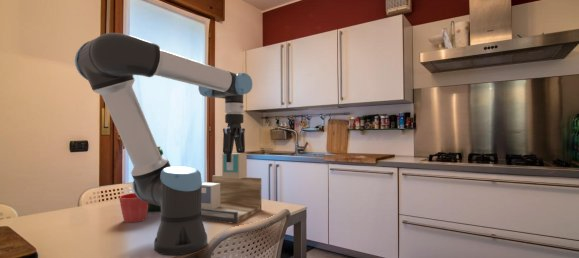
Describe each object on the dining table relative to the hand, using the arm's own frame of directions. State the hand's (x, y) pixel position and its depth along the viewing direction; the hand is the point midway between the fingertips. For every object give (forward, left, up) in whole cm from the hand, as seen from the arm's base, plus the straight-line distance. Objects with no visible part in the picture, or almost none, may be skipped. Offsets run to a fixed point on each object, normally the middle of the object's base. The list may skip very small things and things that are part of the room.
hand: (234, 169), depth 125 cm
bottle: (-5, +37, -19) cm, 42 cm away
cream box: (0, +13, -17) cm, 21 cm away
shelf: (+1, +6, -19) cm, 20 cm away
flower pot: (-20, +33, -19) cm, 43 cm away
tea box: (0, 0, -3) cm, 3 cm away
